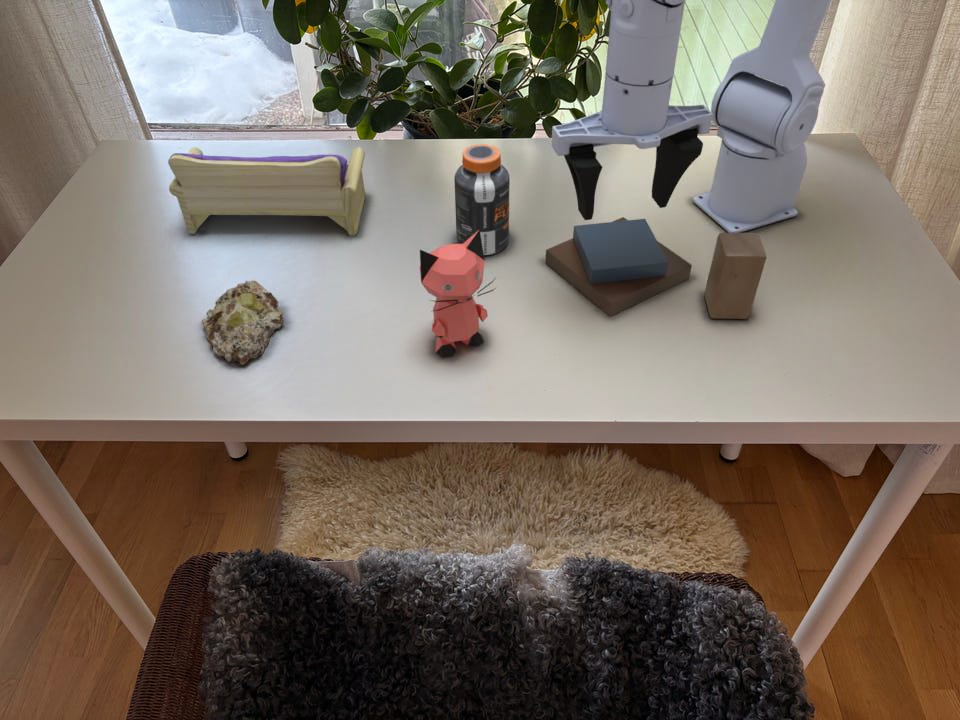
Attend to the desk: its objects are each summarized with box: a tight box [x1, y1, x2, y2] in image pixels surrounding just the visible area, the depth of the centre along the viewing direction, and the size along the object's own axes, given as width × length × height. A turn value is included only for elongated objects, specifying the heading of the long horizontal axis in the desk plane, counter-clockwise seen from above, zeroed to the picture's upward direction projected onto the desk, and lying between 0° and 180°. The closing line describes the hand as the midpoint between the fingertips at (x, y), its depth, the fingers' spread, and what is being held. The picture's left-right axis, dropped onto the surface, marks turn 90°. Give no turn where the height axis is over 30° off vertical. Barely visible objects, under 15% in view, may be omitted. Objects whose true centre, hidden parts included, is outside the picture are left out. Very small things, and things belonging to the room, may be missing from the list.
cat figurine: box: [419, 230, 498, 359], centre depth 72 cm, size 7×7×12 cm
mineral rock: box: [201, 280, 285, 366], centre depth 77 cm, size 11×4×8 cm
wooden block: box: [703, 232, 767, 320], centre depth 76 cm, size 4×4×8 cm
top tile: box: [572, 218, 668, 284], centre depth 82 cm, size 8×8×2 cm
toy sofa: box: [167, 146, 366, 237], centre depth 89 cm, size 21×9×10 cm, turn 88°
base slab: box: [544, 216, 693, 317], centre depth 83 cm, size 11×11×2 cm
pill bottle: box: [453, 143, 511, 256], centre depth 84 cm, size 6×6×11 cm
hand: (622, 208), depth 75 cm, fingers open, 7 cm apart
